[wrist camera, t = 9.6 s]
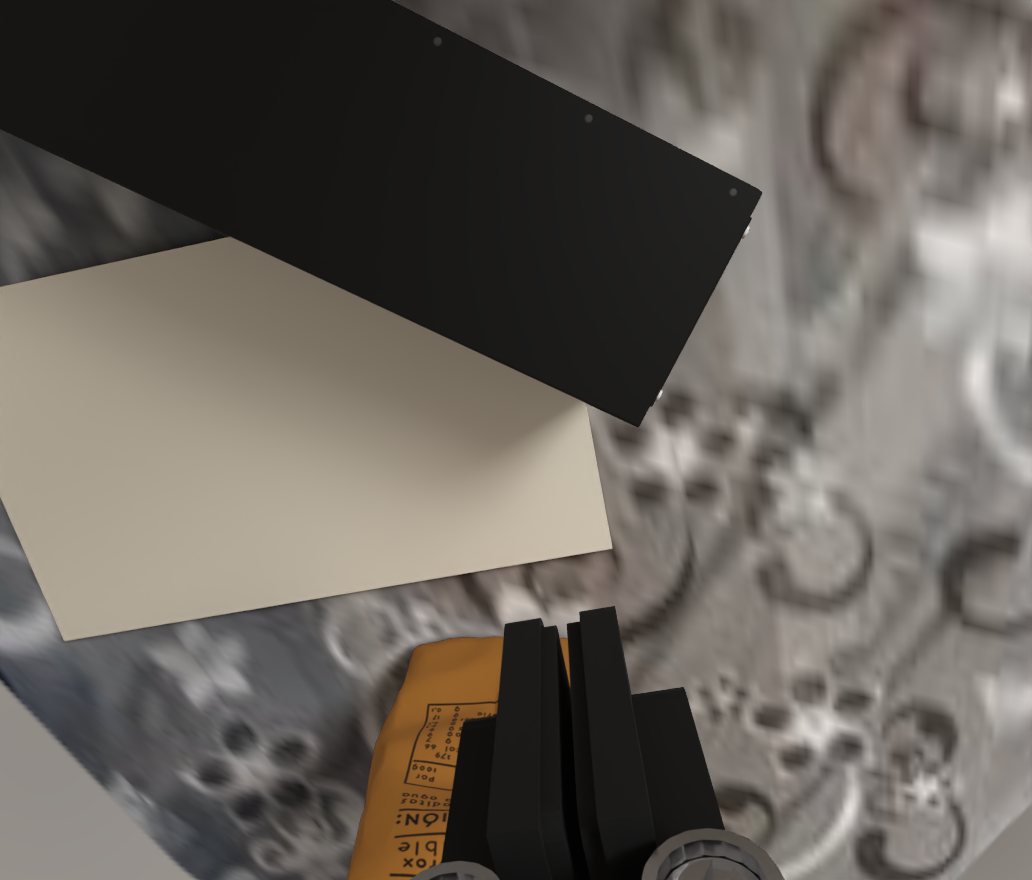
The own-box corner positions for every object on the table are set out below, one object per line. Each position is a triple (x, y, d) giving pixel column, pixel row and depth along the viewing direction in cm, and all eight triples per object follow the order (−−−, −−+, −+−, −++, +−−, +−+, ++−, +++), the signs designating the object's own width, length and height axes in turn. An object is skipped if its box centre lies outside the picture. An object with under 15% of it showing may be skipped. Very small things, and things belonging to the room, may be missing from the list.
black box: (642, 433, 23) (-278, 4, 20) (612, 385, 31) (-61, 67, 28) (771, 191, 21) (-221, -319, 19) (706, 203, 29) (-6, -158, 26)
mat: (543, 168, 29) (542, 168, 28) (611, 543, 34) (612, 548, 33) (-76, 303, 31) (-85, 305, 31) (70, 635, 36) (64, 641, 36)
